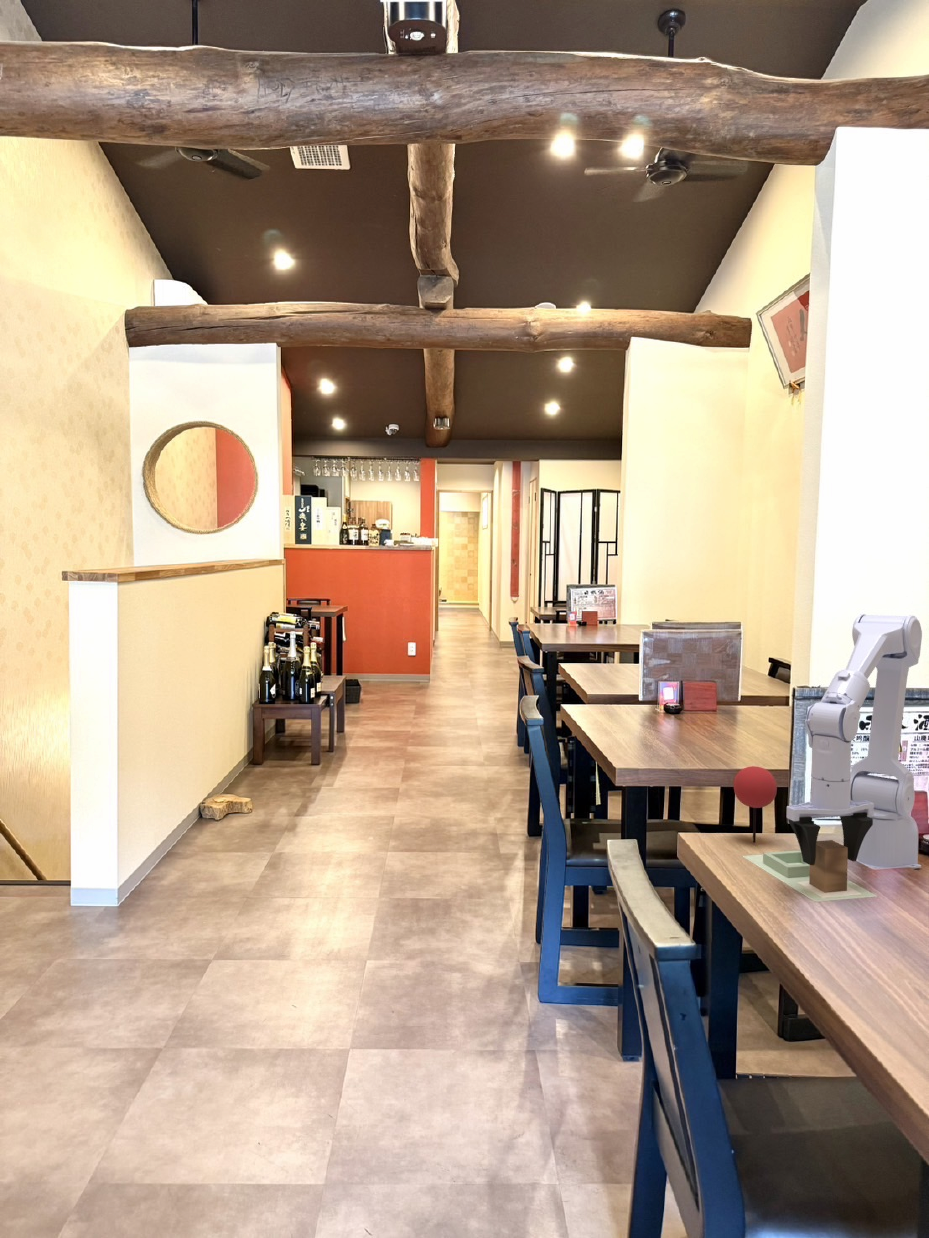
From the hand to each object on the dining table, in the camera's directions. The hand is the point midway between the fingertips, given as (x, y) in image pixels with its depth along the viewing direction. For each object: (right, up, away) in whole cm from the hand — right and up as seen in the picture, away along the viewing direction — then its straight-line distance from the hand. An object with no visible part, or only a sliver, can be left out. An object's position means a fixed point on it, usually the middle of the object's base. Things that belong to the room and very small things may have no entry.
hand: (829, 861), depth 135 cm
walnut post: (0, -4, 0) cm, 4 cm away
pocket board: (-1, -5, +7) cm, 8 cm away
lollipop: (-4, -4, +24) cm, 25 cm away
